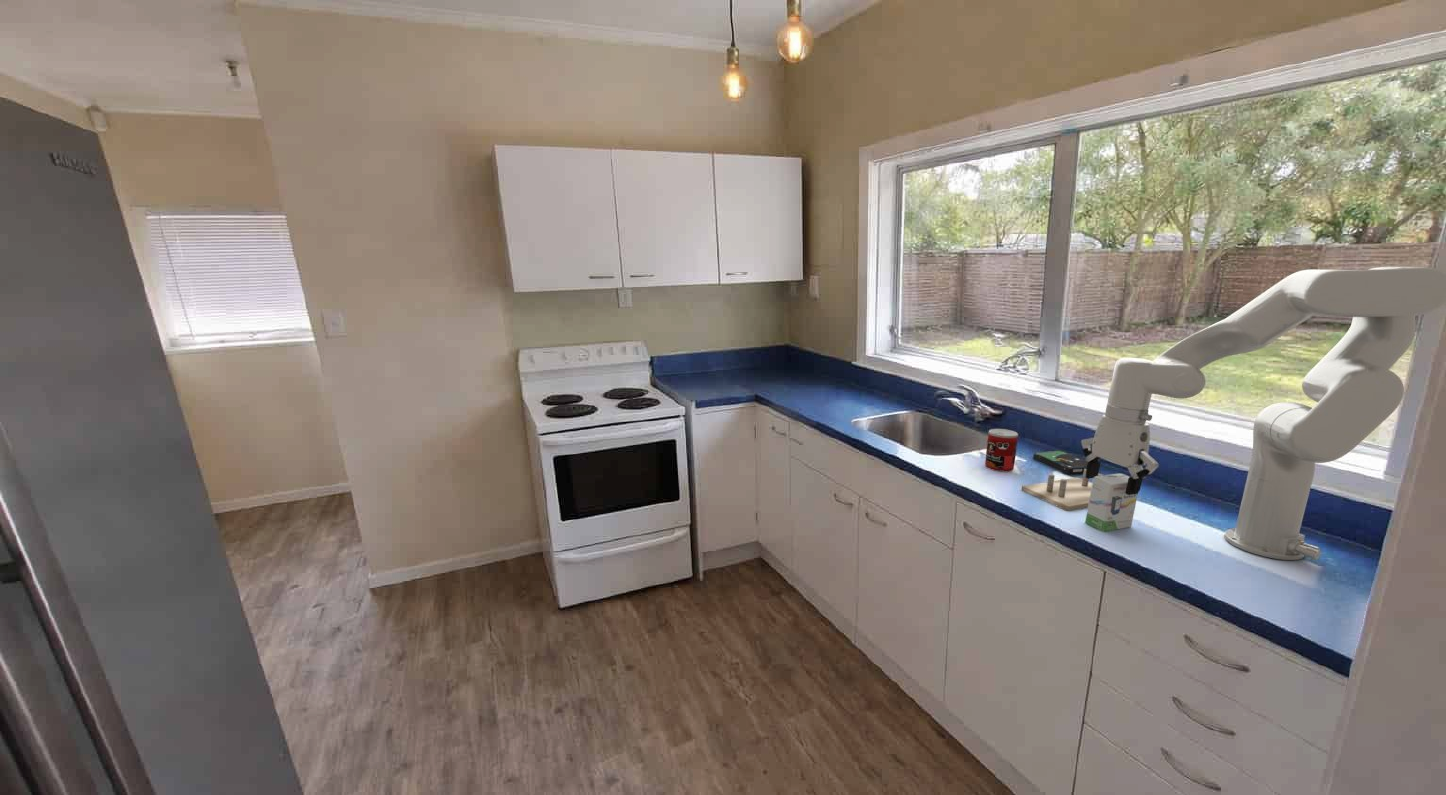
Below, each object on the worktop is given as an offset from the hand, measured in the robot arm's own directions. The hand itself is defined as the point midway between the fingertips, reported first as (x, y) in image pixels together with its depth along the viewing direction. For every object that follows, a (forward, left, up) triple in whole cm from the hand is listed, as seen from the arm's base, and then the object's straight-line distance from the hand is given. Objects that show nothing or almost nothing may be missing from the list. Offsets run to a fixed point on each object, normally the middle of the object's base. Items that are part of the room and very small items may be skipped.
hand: (1110, 485), depth 129 cm
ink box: (-1, -1, -10) cm, 10 cm away
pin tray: (+15, -9, -10) cm, 20 cm away
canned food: (+38, -7, -10) cm, 40 cm away
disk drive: (+33, -27, -11) cm, 44 cm away
